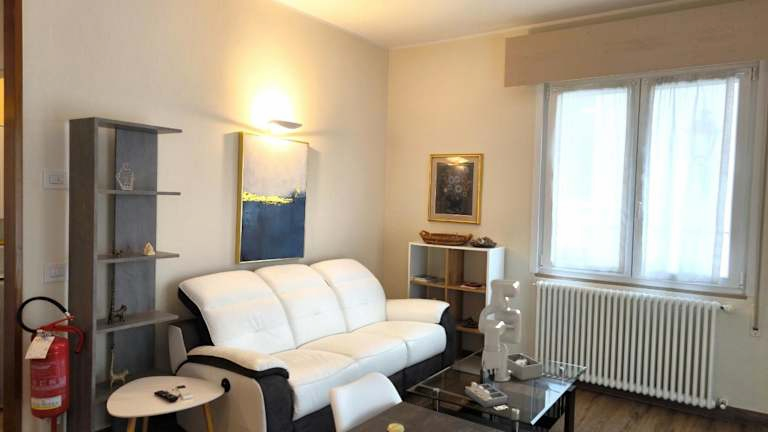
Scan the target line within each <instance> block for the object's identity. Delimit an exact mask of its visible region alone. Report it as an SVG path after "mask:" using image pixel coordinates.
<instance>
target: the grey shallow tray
mask: <svg viewBox="0 0 768 432" xmlns="http://www.w3.org/2000/svg"><path fill="white" fill-rule="evenodd" d="M478 386H482V387H483V388H484V390H487V391H489V392H490V397H491V399H484V398H483V397H481V396H484V394H483V395H478V394H477V393H476V392H478V390H477V391H472V390H471V389H470V388H472V385H470V386H465V387H464V393H466V394H465V395H467V396H468V397H470V398H471V399H473V400H474V401H475V402H476V403H478V404H479V405H481V406H482V407H484V408H490V407H496V406H501V405H505V404H509V402H510V401H509V400H510V399H509V398H510V396H509V395H507V394H506V393H504V392H502V391H501V390H499V389H497V388H496V387H495V386H493V385H492V384H490V383H488V382H487V383H482V384H478ZM477 388H478V387H477Z"/></svg>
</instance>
